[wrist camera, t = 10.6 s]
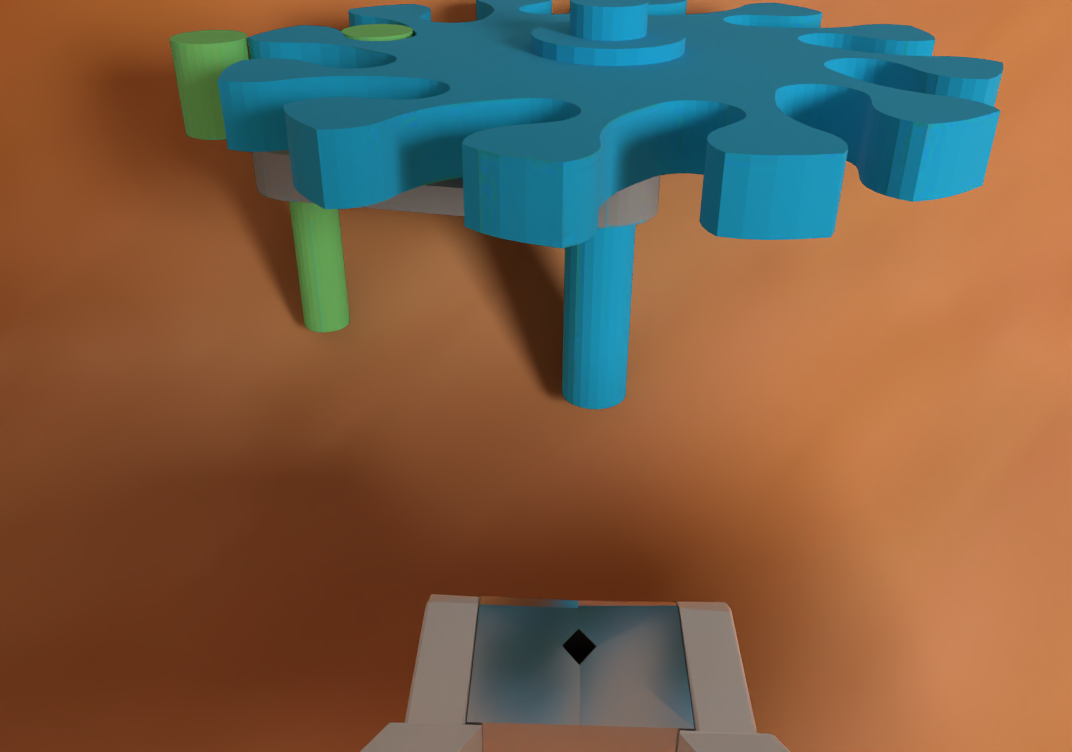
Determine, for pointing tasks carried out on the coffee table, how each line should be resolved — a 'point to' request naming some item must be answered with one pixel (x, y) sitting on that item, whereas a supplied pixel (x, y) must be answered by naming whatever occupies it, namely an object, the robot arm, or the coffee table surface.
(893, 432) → the coffee table surface
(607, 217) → the gear
